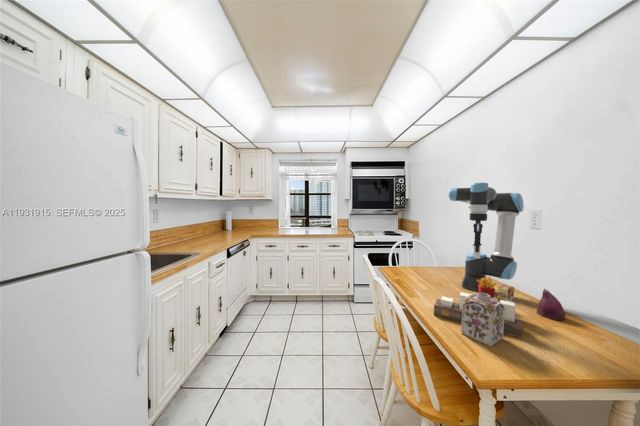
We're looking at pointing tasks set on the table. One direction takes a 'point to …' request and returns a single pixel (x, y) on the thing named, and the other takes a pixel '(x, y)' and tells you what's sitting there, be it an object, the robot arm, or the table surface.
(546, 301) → the vegetable
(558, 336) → the table surface
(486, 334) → the decorative jar
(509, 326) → the wooden candle holder
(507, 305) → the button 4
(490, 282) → the french fries
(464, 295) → the white block
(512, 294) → the candy box
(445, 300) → the white rectangular block
